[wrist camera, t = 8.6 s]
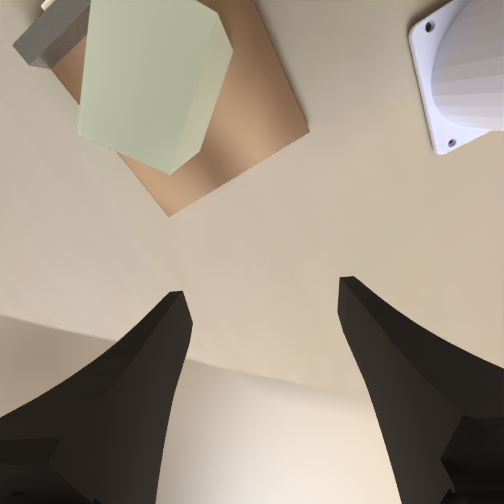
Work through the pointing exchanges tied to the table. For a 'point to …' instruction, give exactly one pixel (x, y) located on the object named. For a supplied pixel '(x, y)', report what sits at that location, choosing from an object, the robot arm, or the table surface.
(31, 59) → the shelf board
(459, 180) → the table surface
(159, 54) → the product carton
